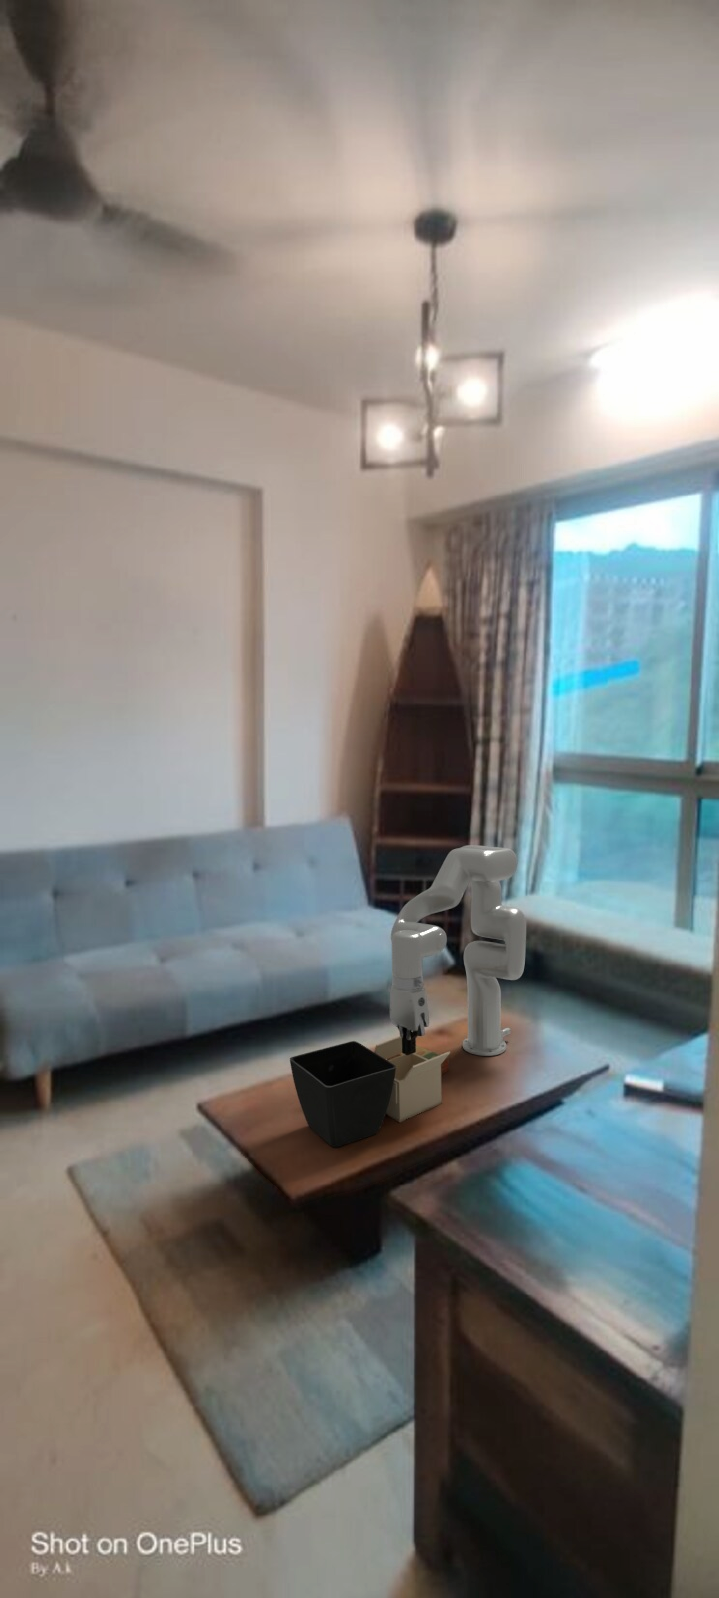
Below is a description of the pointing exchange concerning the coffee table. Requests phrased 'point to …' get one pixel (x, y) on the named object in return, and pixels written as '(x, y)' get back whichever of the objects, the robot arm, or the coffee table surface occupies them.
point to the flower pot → (343, 1091)
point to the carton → (427, 1057)
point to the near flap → (426, 1066)
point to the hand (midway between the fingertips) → (409, 1052)
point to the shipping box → (413, 1088)
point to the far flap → (389, 1048)
